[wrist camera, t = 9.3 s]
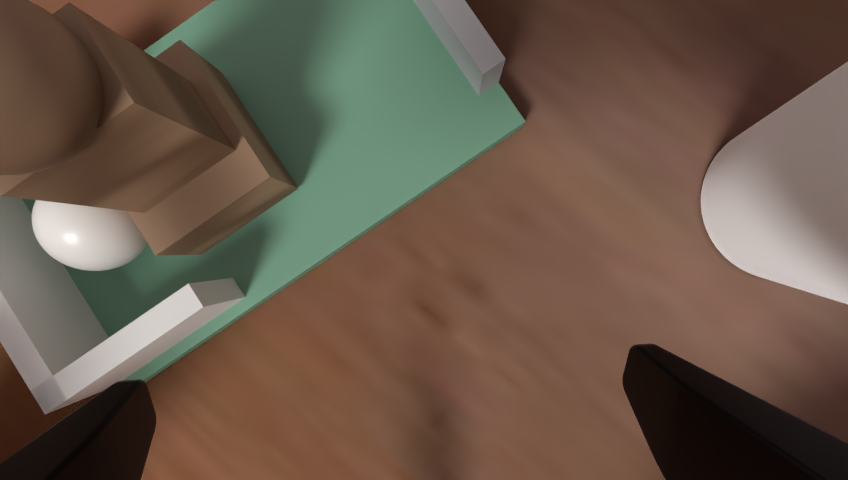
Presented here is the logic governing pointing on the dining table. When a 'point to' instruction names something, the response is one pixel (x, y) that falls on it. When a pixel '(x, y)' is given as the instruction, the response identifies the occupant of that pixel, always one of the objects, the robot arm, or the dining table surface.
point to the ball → (87, 235)
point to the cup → (787, 193)
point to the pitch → (302, 158)
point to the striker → (128, 131)
